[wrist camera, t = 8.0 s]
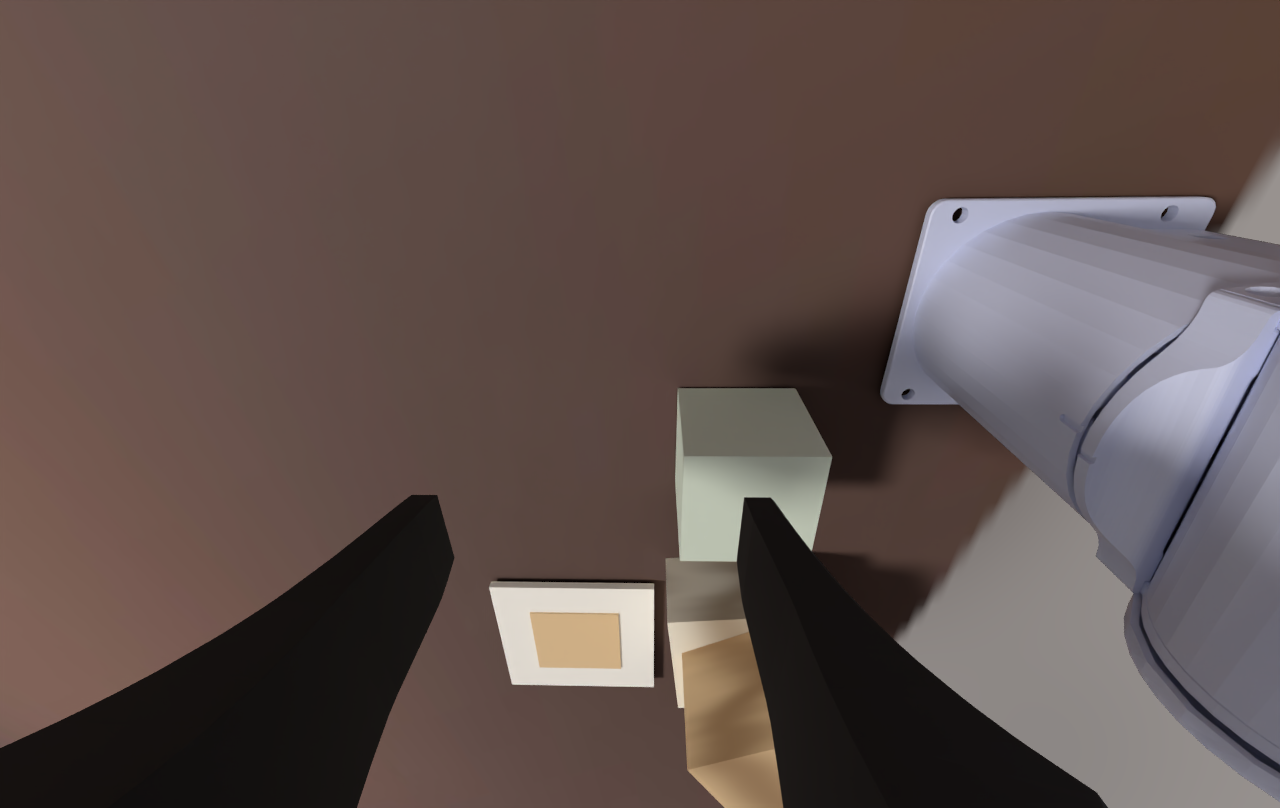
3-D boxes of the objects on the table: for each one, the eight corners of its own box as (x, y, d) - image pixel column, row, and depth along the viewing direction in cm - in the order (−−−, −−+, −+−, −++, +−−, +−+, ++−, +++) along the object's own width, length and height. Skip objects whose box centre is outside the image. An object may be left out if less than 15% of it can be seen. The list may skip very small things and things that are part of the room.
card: (653, 583, 27) (654, 590, 26) (653, 680, 31) (653, 688, 31) (491, 581, 27) (488, 588, 27) (513, 678, 32) (511, 686, 31)
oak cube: (778, 622, 23) (807, 740, 18) (815, 680, 25) (849, 798, 20) (681, 653, 24) (687, 770, 20) (724, 705, 26) (738, 821, 22)
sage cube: (795, 388, 21) (832, 457, 17) (780, 481, 23) (808, 562, 19) (677, 388, 21) (683, 456, 17) (675, 480, 24) (679, 560, 19)
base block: (798, 549, 26) (821, 615, 22) (792, 634, 29) (811, 703, 26) (665, 557, 26) (667, 622, 23) (675, 639, 30) (678, 707, 26)
